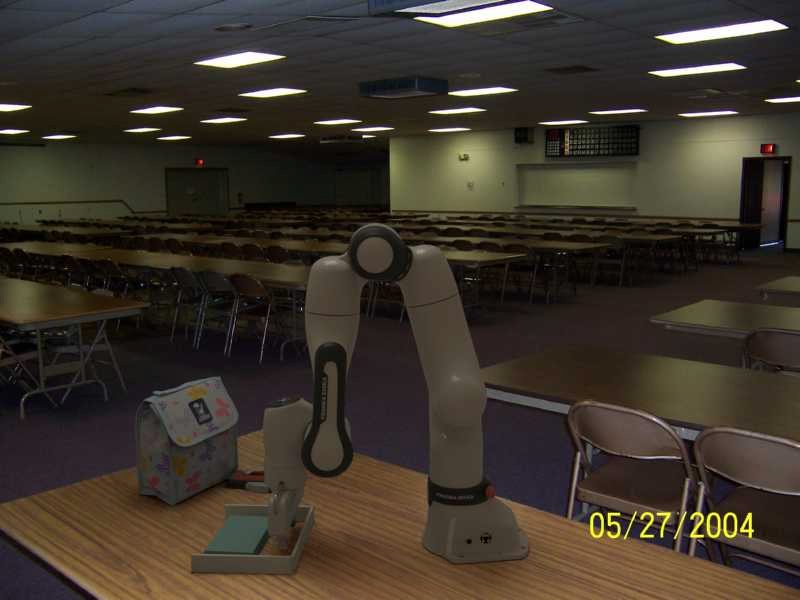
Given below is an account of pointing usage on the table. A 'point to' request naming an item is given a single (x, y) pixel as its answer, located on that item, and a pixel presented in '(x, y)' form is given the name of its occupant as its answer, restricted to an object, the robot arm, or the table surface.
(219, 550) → the cover plate
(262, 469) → the walkie-talkie
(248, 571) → the grey u-shaped frame
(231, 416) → the lunch bag
